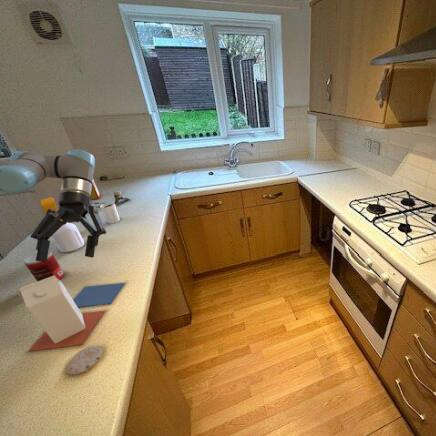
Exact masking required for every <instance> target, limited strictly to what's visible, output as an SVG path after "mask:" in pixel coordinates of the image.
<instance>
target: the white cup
mask: <svg viewBox="0 0 436 436" xmlns="http://www.w3.org/2000/svg"><path fill="white" fill-rule="evenodd" d="M114 203H115V202H104V203H103V204H101V205H99V208H100V209H101V212H102V213H103V215H104V218H105V219H106V221H107V224H115V223H118V222H120V221H121V218H120V216H119V215H120V214H119V213H118V209H117V206H116V204H114Z"/></svg>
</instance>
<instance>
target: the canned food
mask: <svg viewBox="0 0 436 436" xmlns="http://www.w3.org/2000/svg"><path fill="white" fill-rule="evenodd" d="M36 256H37V252H34V253H32V254H30V255H28V256H27V257H25V258H24V260H23V263H24V264H25V267H26V268H27V269H28V271H29V272H30V274H31V275H32V277H33V278H34V279H35V280H36V282H38V281H41V280H43V279H46V278H49V277H51V276H54V275H55V277H56V278H57V279H59V280H61V281H62V279H63V278H64V277H65V271H64V270H63V268H62V267H61V265H60V263H59V261H58V260H57V258H56V257H55V256H54V254H53V252H52V251H51V250H49V251H48V256H47V262H42V261H36Z"/></svg>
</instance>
